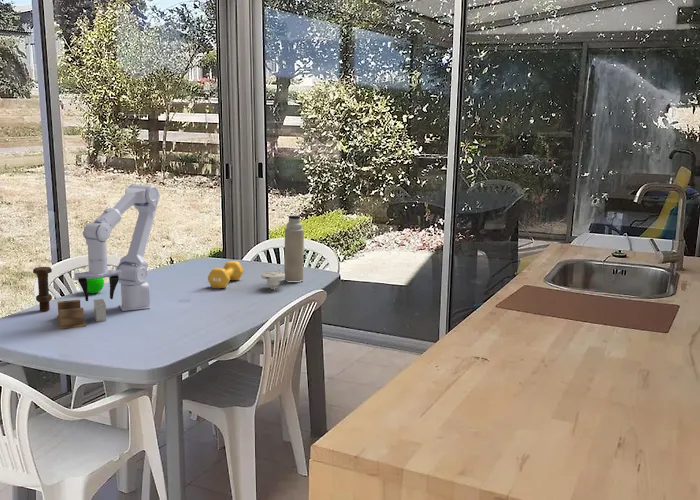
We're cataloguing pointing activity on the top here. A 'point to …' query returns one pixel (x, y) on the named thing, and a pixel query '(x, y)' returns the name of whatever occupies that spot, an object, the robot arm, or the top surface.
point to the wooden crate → (70, 314)
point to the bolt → (43, 287)
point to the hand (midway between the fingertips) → (99, 299)
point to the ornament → (95, 285)
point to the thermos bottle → (294, 249)
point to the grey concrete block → (99, 310)
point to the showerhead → (273, 278)
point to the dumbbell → (225, 274)
